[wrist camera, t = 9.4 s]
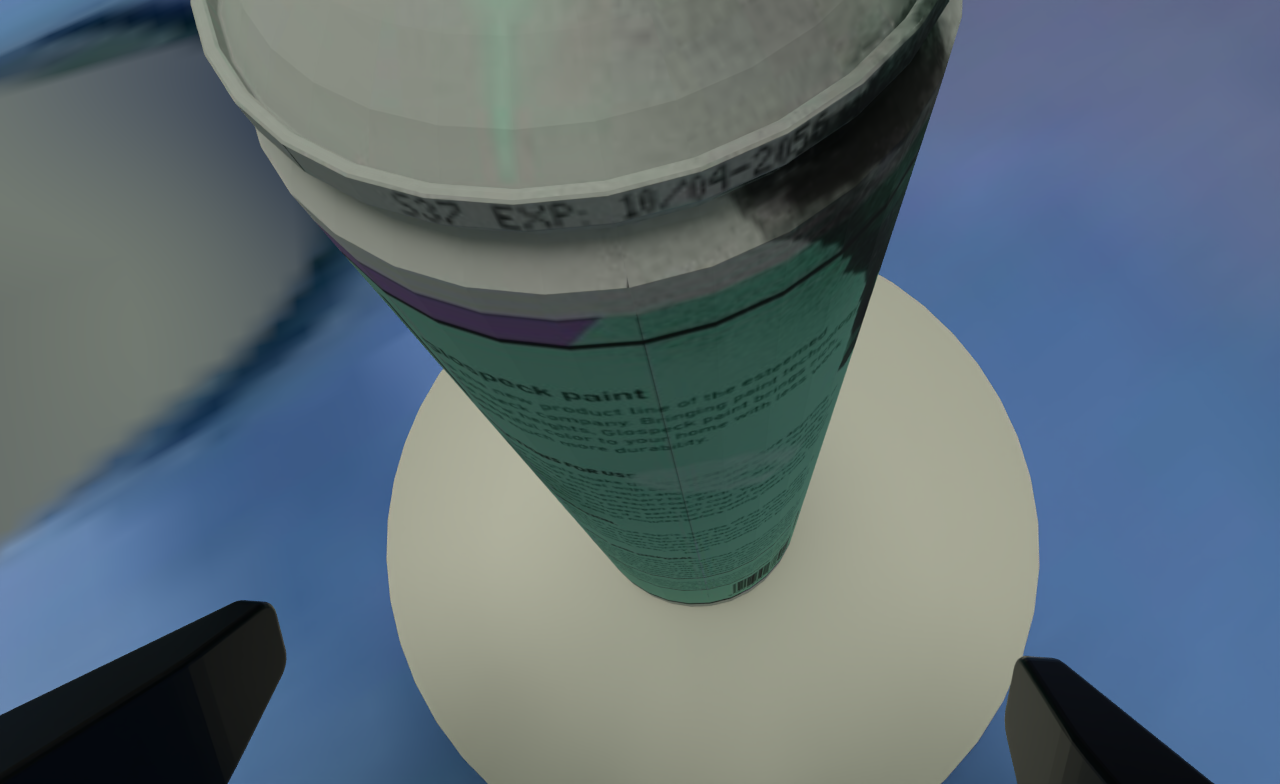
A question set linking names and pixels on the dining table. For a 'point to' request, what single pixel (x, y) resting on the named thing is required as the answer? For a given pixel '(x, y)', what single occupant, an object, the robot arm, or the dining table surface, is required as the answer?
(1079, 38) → the dining table surface
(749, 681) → the cream round disc
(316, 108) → the spray can
